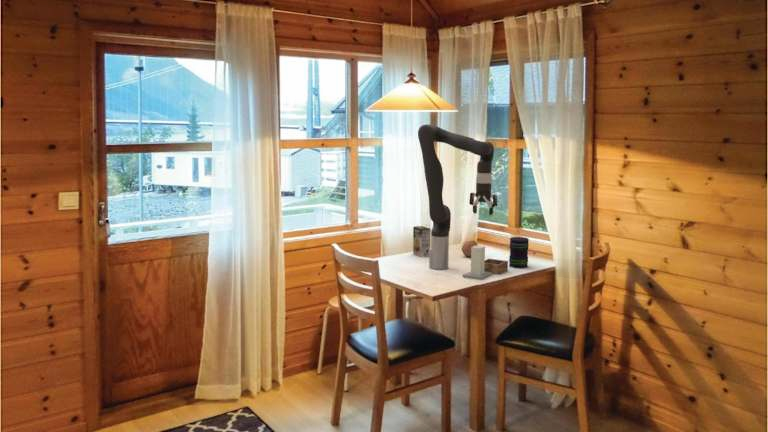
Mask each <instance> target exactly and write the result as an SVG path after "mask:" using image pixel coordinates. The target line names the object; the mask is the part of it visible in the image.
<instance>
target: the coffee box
mask: <svg viewBox="0 0 768 432" xmlns="http://www.w3.org/2000/svg"><path fill="white" fill-rule="evenodd" d="M412 229H413V231H412V232H413V233H412V235H413V236H412V237H413V239H412V240H413V243H412V247H413V248H412V249H413V250H412V251H413V252H412V253H413V255H415V256H417V257H420V258H423V256H425V257H429V250H430V249H431V228H430V227H426V226H423V225H421V226H413V227H412Z"/></svg>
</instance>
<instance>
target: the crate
mask: <svg viewBox="0 0 768 432" xmlns="http://www.w3.org/2000/svg"><path fill="white" fill-rule="evenodd" d="M508 261H509V260H501V259H494V258H487V259H486V260H485V265H484V271H485V272H492V275H493V274H494V275H501V274H504V273H505V272H507V271H509V270H508V267H509V262H508Z"/></svg>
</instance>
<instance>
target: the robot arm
mask: <svg viewBox="0 0 768 432" xmlns="http://www.w3.org/2000/svg"><path fill="white" fill-rule="evenodd" d="M417 137H418V142H419V146H420V149H421V155H422V162H423V167H424V177H425V183H426V189H427V195H428V206H429V208H428V209H429V211H428V212H429V213H428V214H429V218H430V220H431V221H432V222H433V225H432V229H431V230H430V250H429V256H428V257H429V259H428V261H429V262H428V263H429V264H428V266H429V267H428V268H431V269H434V270H447V269H448V268H449V252H450V250H449V249H450V248H449V247H450V246H449V245H450V241H449V240H450V230H451V222H452V221H451V219H452V216H451V215H452V214H451V210H450V208H449V206H448V205H445V204H444V199H443V190H444V172H443V166H442V164H441V163H442V162H440V159H439V157H438V155H437V153H436V150H435V143H443V144H447V145H450V146H452V147H453V148H455V149H458V150H461V151H464V152H469V153H472V154H474V155H477V156H479V161H478V162H477V164H476V177H475V178H476V181H475V183H476V184H475V186H476V187H475V192H470V193H469V205H470V206H472V213H473V214H477V212H478V204H479V203H486V205H488V208H489V209H488V210H489V211H488V216H492V215H494V214H493V213H494V208H495V207H498V194H496V193H495V194H492V182H493V181H492V179H493V178H492V163H493V160H494V159H493V158H494V154H495V147H494V144H493V143H492V142H490V141H480V140H478V139H475V138H473V137H470V136H467V135H463V134H459V133H454V132H450V131H448V130H446V129H443V128H441V127H439V126H437V125H435V124H432V123H430V124H422V125H421V126H419V128H418V132H417ZM475 198H476V199H475Z"/></svg>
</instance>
